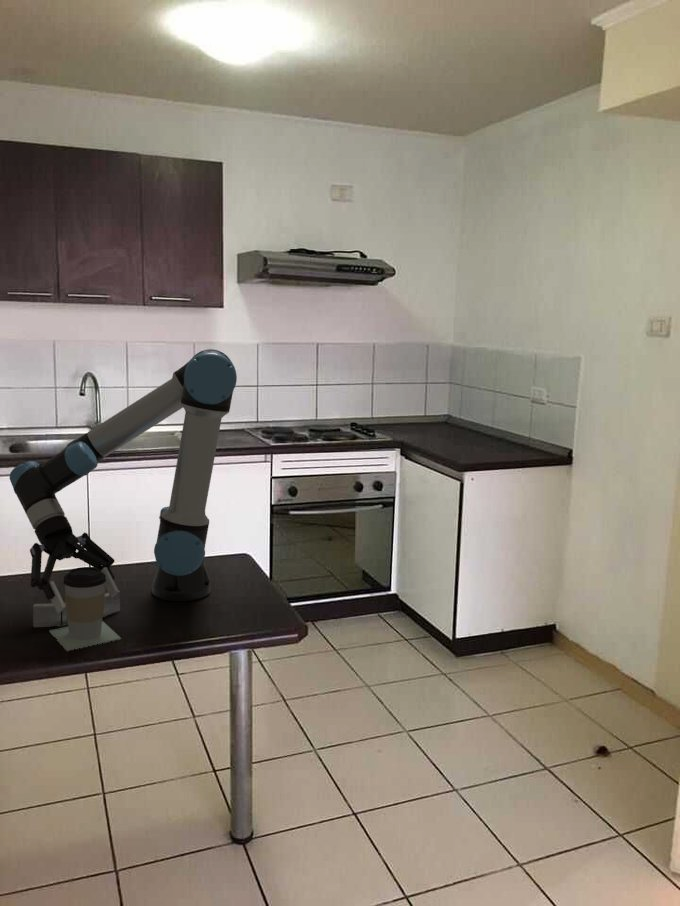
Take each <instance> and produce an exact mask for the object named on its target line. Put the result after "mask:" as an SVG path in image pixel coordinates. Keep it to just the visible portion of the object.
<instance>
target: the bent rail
mask: <svg viewBox="0 0 680 906" xmlns="http://www.w3.org/2000/svg"><path fill="white" fill-rule="evenodd" d="M64 604H65V606H66V603H65V602H64ZM120 611H121V591H120V590H119V591H118V592H117V594H116V595H115V596H114V597H110V595H109V593H108V592H105V599H104V612H103V617H104V618H106V617H109V616H111V615H113V614H115V613H118V612H120ZM108 615H109V616H108ZM32 616H33V617H32V622H33V623H32V625H33V626H32V627H33V628H48V627H49V628H50V627H51V626H52V627H53V626H57V627H67V626H68V619H67V615H66V607H65V608H64V610H63V611H62V612H61V613H57V611H56V609H55V607H54V605H53V603H52V602H51V603H34V604H33V606H32ZM103 617H102V619H103ZM52 627H51V628H52Z"/></svg>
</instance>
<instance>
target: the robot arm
mask: <svg viewBox="0 0 680 906" xmlns="http://www.w3.org/2000/svg"><path fill="white" fill-rule="evenodd" d="M237 379H238V377H237V371H236V367H235V365H234V364H233V362H232V360H231V358H230V357H229V356H228V355H227V354H225V353H224V352H222V351H221V350H217V349H212V348H211V349H210V348H209V349H204V350H200V351H199V352H197V353H195V354H194V355H193V356H192V357H191V359H190V360H189V361H187V362H186V363H185V364H184V365H183V366H181V367H180V368H178V369H177V370H175V371H174V372H173V373H172V377H171V378H170V379H169V380H167V381H165V382H164V383H163V384H161V385H160V386H158V387H156V388H155V389H153V390H152V391H150V392H148V393H147V394H145V395H144V396H142V397H141V398H139V399H138V400H136V401H135V402H132V403H131V404H130V405H128V406H127V407H125V408H124V409H122V410H120V411H119V412H117V413H115V414H114V415H112V416H110V417H109V418H108V419H106V420H105V421H103V422H102V423H100V424H98V425H96V426H95V427H94V428H92V429H90V430H89V431H87V432H86V433H85V434H83V435H81V436H79V437H78V438H76V439H73V440H72V441H70V442H69V443H67V445H66V446H65V447H64V448H62V450H61V451H60V452H58V453H57V454H55V455H54V456H52V457H51V458H50V459H48V460H47V461H45V462H43V463H41V464H40V463H39V462H37V461H33V460H32V461H31V460H30V461H25V462H23V463H20V464H18V465H17V466H15V467H14V468H13V469H11V471H10V473H9V481H10V483H11V486H12V488H13V491H14V494H15V495H16V497H17V499H18V500H19V502H20V503H19V504H21V507H22V508H23V511H24V513H25V515H26V517H27V519H28V520H29V523H30V525H31V527H32V529H34V534H35V535H36V537H37V539H38V542H39V543H40V544H39V543H38V542H34V544H33V545H32V546H31V548H30V549H29V553H30V555H31V572H30V587H31V588H36V587H37V589H38V590H40V591H42V592H43V593H44V596H45V597H46V600H49V601H51V604H52V603H53V605H54V607H55V609H56V611H57V613H61V612H62V611H63V610H64V608H65V607H66V606H65V604H64V603H65V601H64V600H63V598H62V595H61V593H60V592H59V590H58V589H59V588H58V587H57V585H56V583H55V581H54V580H52V581H50V580H51V577H52V574H53V571H54V568H55V564H56V562H57V560H58V561H63V560H65V559H71V558H74V559H79V560H80V561H82V562H84V563H85V564H86V565H87V564H88V565H90V567H93V568H98V569H100V570H101V572H102V573H104V574H105V575H106V582H105V590H106V591H107V593H109V595H110V597H114V596H115V595H116V594H117V592H118V591H120V590H119V589H118V587H117V585H116V582H115V576H114V573H113V571H112V569H111V567H112V566H113V564H115V559H114V558H113V557H112V556H111V555H110V554H108V553H107V551H105V550H104V549H102V547H100V546H99V545H98V544H97V543H96V542H94V541H93V540H92V539H91V538H90V536H89V534H88V533H87V532H83V533H82V534H81V535H79V536H76V535H75V534H74V533H73V528H72V525H71V524H70V522H69V519H68V518H67V516H66V513H65V511H64V509H63V508H62V505H61V504H60V502H59V500H58V498H57V497H56V494H57V493H59V492H60V491H62V490H63V489H65V488H66V487H68V486H69V485H71V484H73V483H75V482H76V481H78V480H79V479H81V478H83V477H84V476H85V477H86V476H87V475H89V473H91V472H93V470H95V469H97V467H98V462H100V461H101V460H103V459H104V458H106V457H108V456H109V455H110V454H112V453H114V452H115V451H117V450H118V449H120V448H121V447H123V446H125V445H126V444H128V443H130V442H131V441H133V440H134V439H136V438H138V437H139V436H141V435H142V434H144V433H146V432H147V431H148V430H150V429H151V428H153V427H155V426H156V425H158V424H159V423H161V422H162V421H165V420H166V419H167V418H169V417H170V416H172V415H174V414H175V413H177V412H178V411H181V410H182V409H184V411H185V412H184V413H185V414H184V419H183V424H182V431H181V437H180V442H179V449H178V452H177V453H178V454H177V460H176V466H175V471H174V478H173V483H172V489H171V493H170V501H169V505H168V506H164V507H162V508H161V509H160V513H159V516H158V518H159V525H158V526H159V527H158V531H157V532H158V533H157V539H156V542H155V545H154V549H153V555H154V558H155V561H156V564H157V565H158V567H157V570H156V573H155V575H154V577H153V580H152V584H151V589H152V590H151V594H152V595H153V596H154V597H156V598H158V599H160V600H164V601H169V602H170V601H171V602H191V601H196V600H200V599H202V598H205V597H207V596H208V595H209V594H210V592H211V580H210V578H209V574H208V571H207V567H206V564H205V556H206V549H205V548H206V543H207V537H208V531H209V526H210V519H209V518H208V516H207V515H206V508H207V501H208V497H209V496H208V495H209V490H210V485H211V479H212V474H213V469H214V462H215V458H216V457H215V456H216V453H217V452H216V451H217V446H218V442H219V441H218V439H219V435H220V431H221V430H220V429H221V426H222V425H221V424H222V419H223V418H224V417H226V415H228V414H229V413H230V410H231V404H232V400H233V393H234V391H235V388H236V385H237ZM43 552H44V553H46V554H47V555H48V557H47V561H46V565H45V567H44V571H43V572H42V555H43ZM41 574H42V575H41Z"/></svg>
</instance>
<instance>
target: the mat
mask: <svg viewBox="0 0 680 906" xmlns="http://www.w3.org/2000/svg"><path fill="white" fill-rule="evenodd" d="M49 633H50V635H52V636H53V638H54V637H55V638H56V639H57V640H56V639H55V638H54V639H55V640H56V641H57V642H58V643H59V644H60V645H61V646H63V649H64V650H65V651H66V652H70V650H71V651H74V649H75V650H79V648H80V649H83V648H84V647H85V648H89V647H93V645H94V646H98V645H103V644H107V643H111V641H112V642H115V641H116V640H117V641H121V639H122V638H121V637H120V636H119V634H118V633H116V632H115V631H114V630H113V629H112V628H111V627H110V626H109V625H108V624H107V623H106V622H104V621H103V620H102V629H101V635H100V636H98V637H96V638H93V639H88V640H77V639H73V638H71V637H70V636H69V629H68V626H62V627H59V628H54V629H53V628H52V629H49ZM102 643H103V644H102ZM97 644H98V645H97ZM88 646H89V647H88Z"/></svg>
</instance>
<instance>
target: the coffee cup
mask: <svg viewBox="0 0 680 906" xmlns="http://www.w3.org/2000/svg"><path fill="white" fill-rule="evenodd" d="M105 582H106V575H105V574H104V573H102V572H101V570H100V569H98V568H94V567H93V566H89V567H88V566H86V567H85V566H82V567H75V568H73V569H71V570H70V571H68V573H66V574H65V575H64V576H63V584H64V603H66V615H67V619H68V625H67V627H68V629H69V636H70V637H71V638H73V639H77V640H88V639H93V638H96V637H98V636H100V635H101V629H102V621H103V618H102V617H103V612H104V599H105V594H106V587H105Z"/></svg>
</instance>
